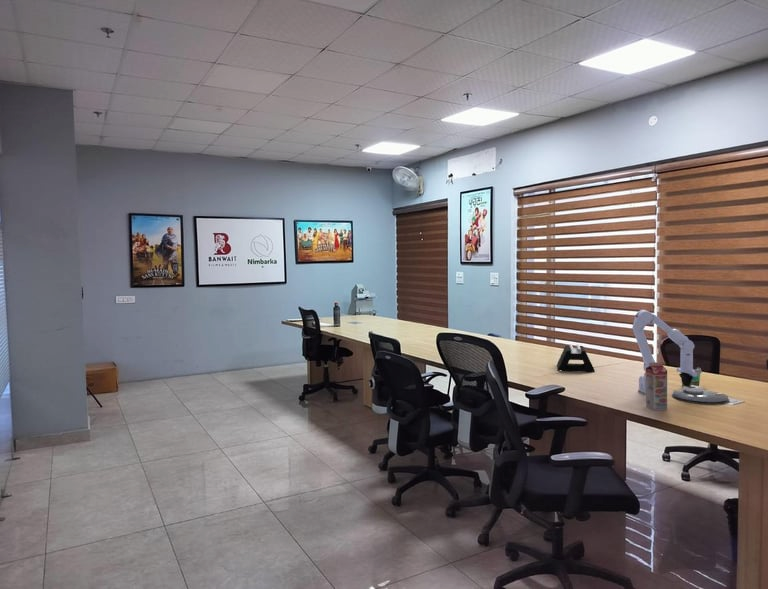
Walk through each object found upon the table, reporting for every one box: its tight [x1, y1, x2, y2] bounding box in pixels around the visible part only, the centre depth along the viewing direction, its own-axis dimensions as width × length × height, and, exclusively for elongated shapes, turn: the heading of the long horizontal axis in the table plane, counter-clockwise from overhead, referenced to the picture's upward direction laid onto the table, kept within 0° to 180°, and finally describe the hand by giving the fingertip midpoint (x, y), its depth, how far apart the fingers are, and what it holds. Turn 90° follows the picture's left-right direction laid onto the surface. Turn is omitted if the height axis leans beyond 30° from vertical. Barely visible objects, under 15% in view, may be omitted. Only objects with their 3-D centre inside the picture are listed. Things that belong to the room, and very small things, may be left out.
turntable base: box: [671, 393, 730, 406], centre depth 267 cm, size 25×25×1 cm
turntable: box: [672, 388, 729, 403], centre depth 267 cm, size 24×24×1 cm
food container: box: [679, 367, 703, 388], centre depth 291 cm, size 12×6×10 cm, turn 105°
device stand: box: [557, 343, 596, 373], centre depth 352 cm, size 22×22×15 cm
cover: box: [682, 385, 704, 394], centre depth 272 cm, size 9×9×3 cm
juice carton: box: [645, 361, 668, 411], centre depth 250 cm, size 7×7×22 cm
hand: (686, 387), depth 278 cm, fingers closed
